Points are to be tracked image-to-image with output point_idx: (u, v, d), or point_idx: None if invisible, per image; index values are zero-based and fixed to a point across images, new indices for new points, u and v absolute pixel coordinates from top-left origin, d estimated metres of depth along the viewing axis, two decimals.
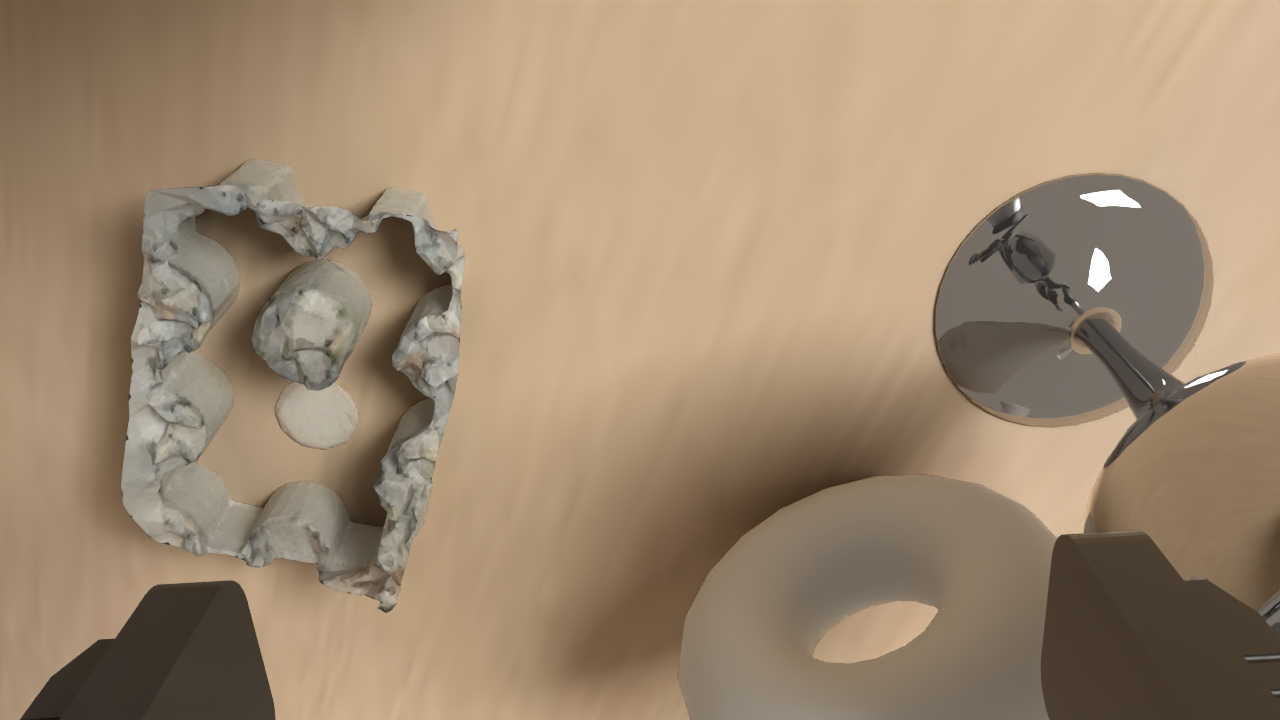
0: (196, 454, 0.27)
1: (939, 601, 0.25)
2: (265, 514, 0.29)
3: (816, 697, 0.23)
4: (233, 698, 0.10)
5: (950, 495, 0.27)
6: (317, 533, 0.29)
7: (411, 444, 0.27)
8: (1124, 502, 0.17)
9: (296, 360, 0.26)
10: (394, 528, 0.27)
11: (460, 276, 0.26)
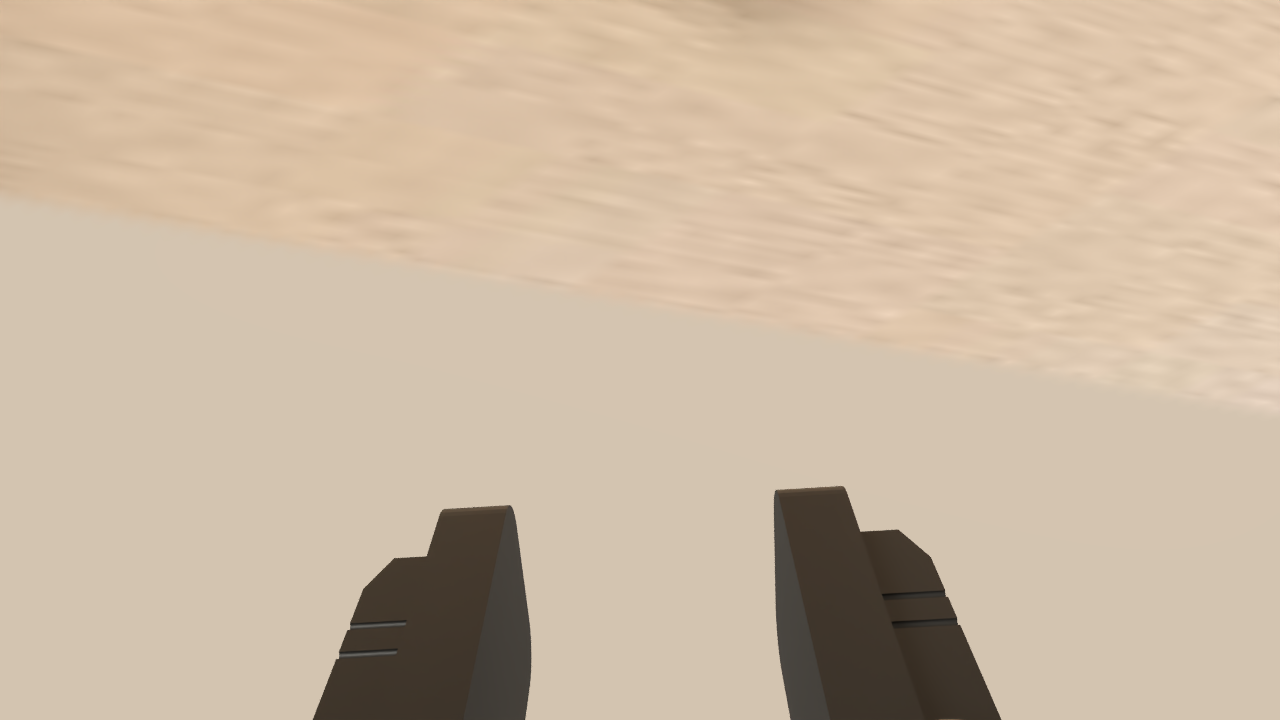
0: None
1: None
2: None
3: None
4: (515, 612, 0.11)
5: None
6: None
7: None
8: None
9: None
10: None
11: None
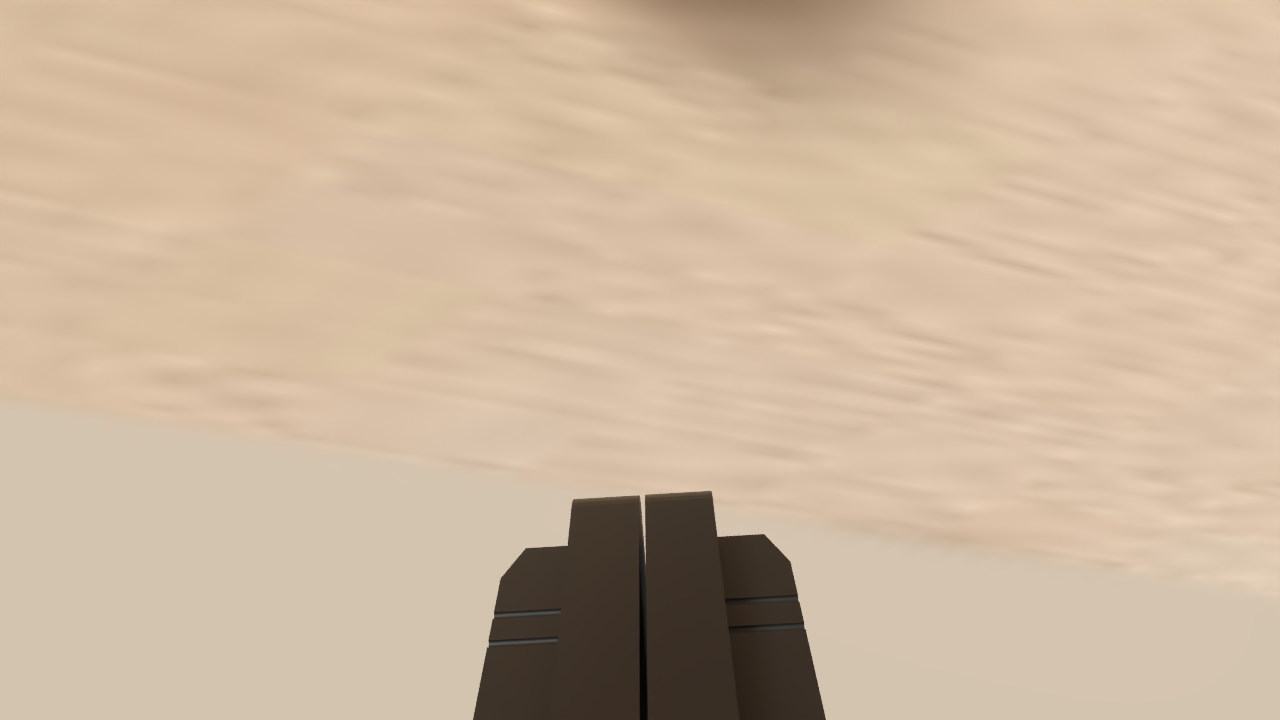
0: None
1: None
2: None
3: None
4: (644, 602, 0.11)
5: None
6: None
7: None
8: None
9: None
10: None
11: None
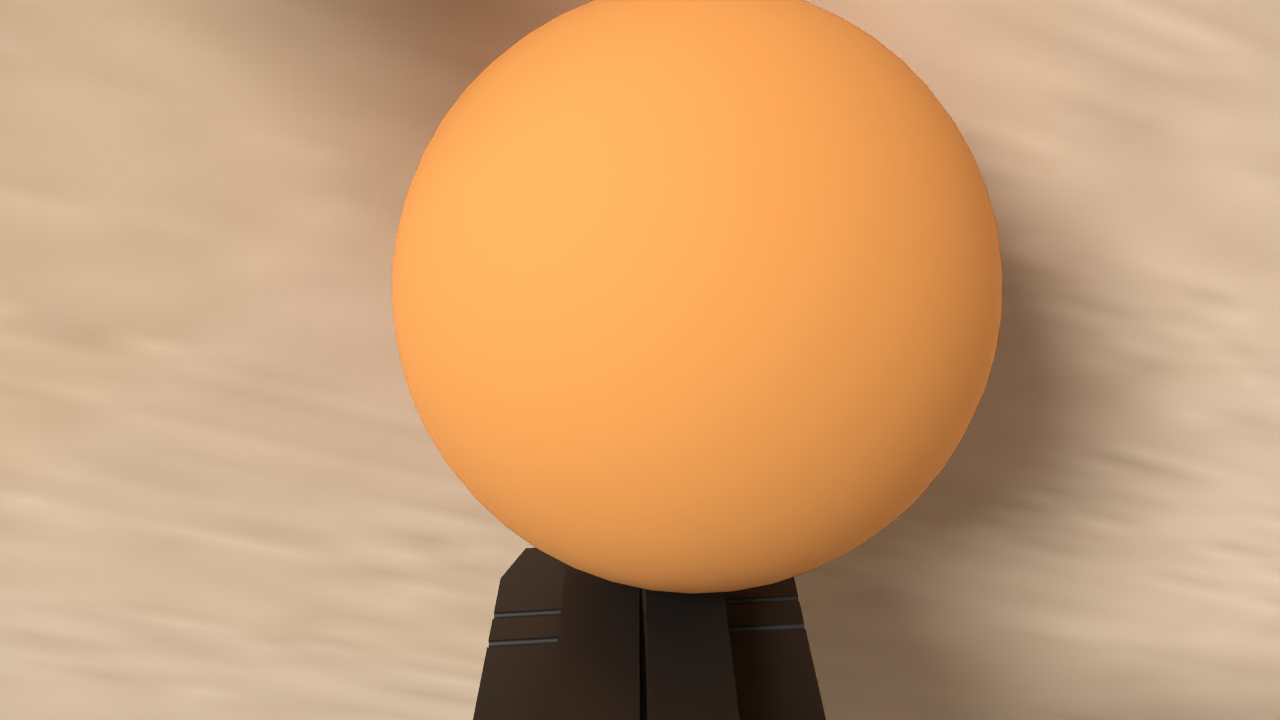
0: None
1: None
2: None
3: None
4: (645, 602, 0.11)
5: None
6: None
7: None
8: None
9: None
10: None
11: None
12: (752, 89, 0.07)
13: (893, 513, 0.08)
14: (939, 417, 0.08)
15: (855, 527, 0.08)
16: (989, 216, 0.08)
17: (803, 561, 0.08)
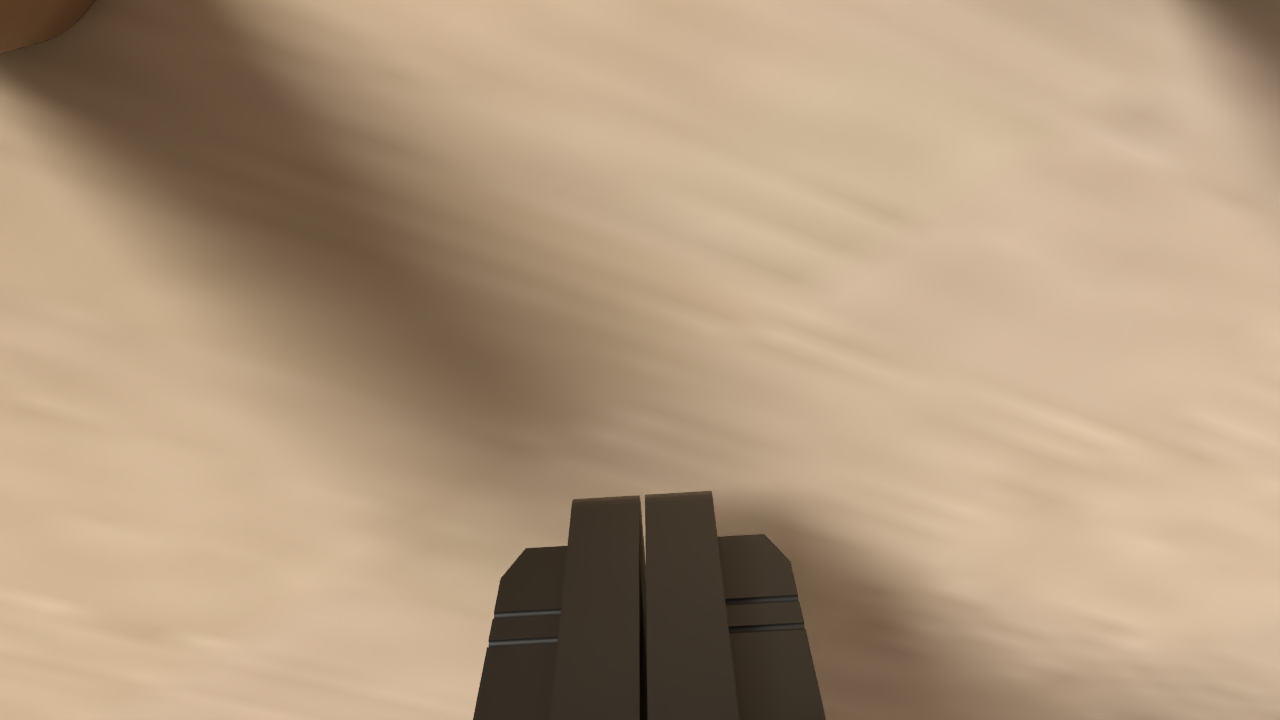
0: None
1: None
2: None
3: None
4: (645, 602, 0.11)
5: None
6: None
7: None
8: None
9: None
10: None
11: None
12: None
13: None
14: None
15: None
16: None
17: None
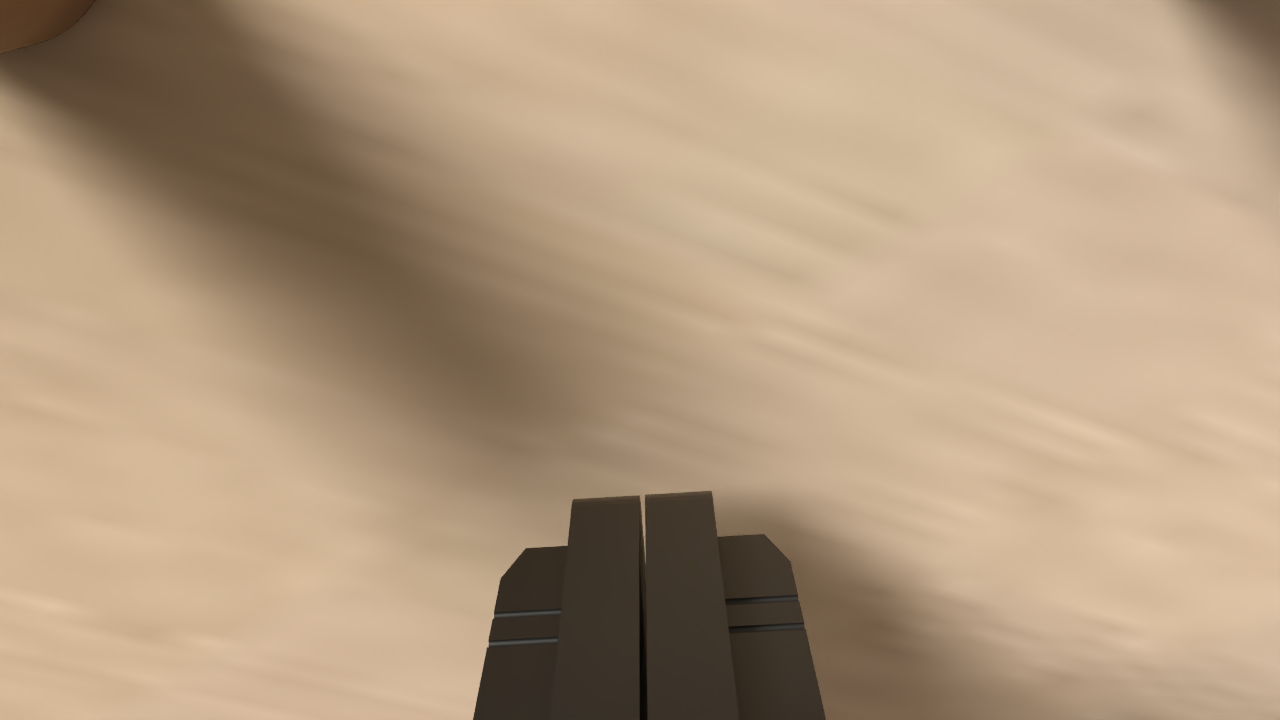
0: None
1: None
2: None
3: None
4: (645, 602, 0.11)
5: None
6: None
7: None
8: None
9: None
10: None
11: None
12: None
13: None
14: None
15: None
16: None
17: None
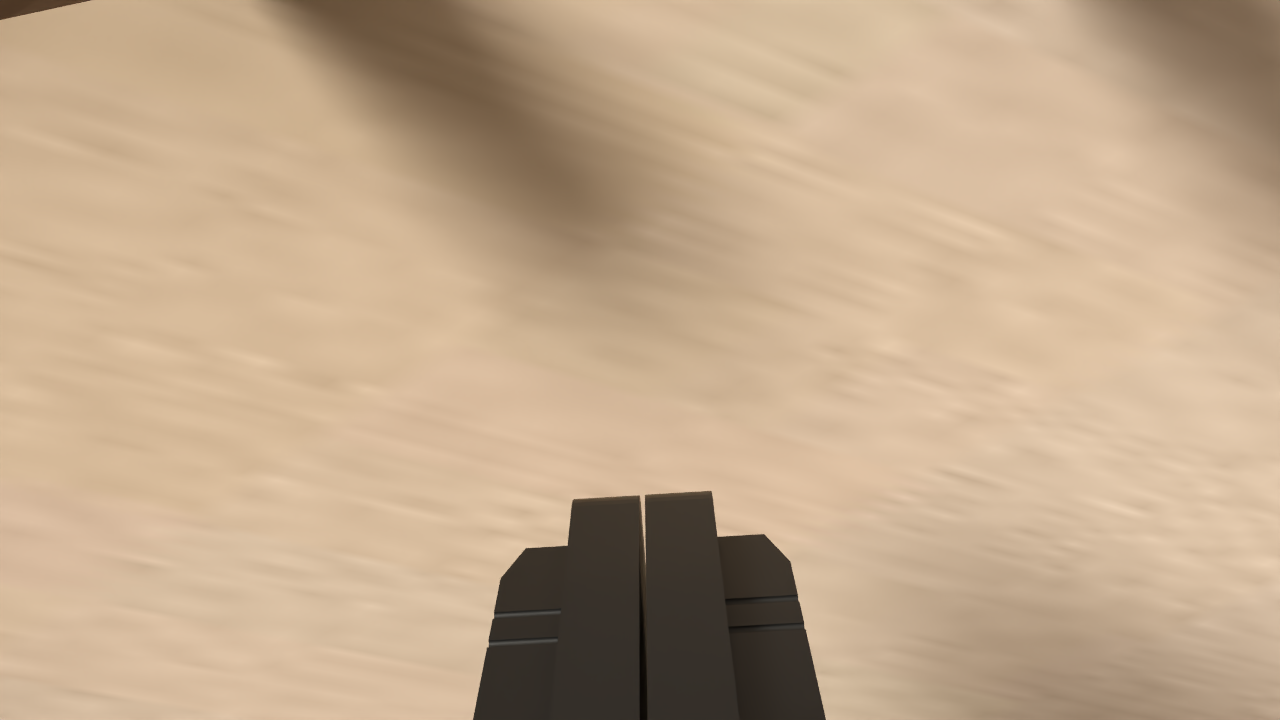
0: None
1: None
2: None
3: None
4: (645, 602, 0.11)
5: None
6: None
7: None
8: None
9: None
10: None
11: None
12: None
13: None
14: None
15: None
16: None
17: None
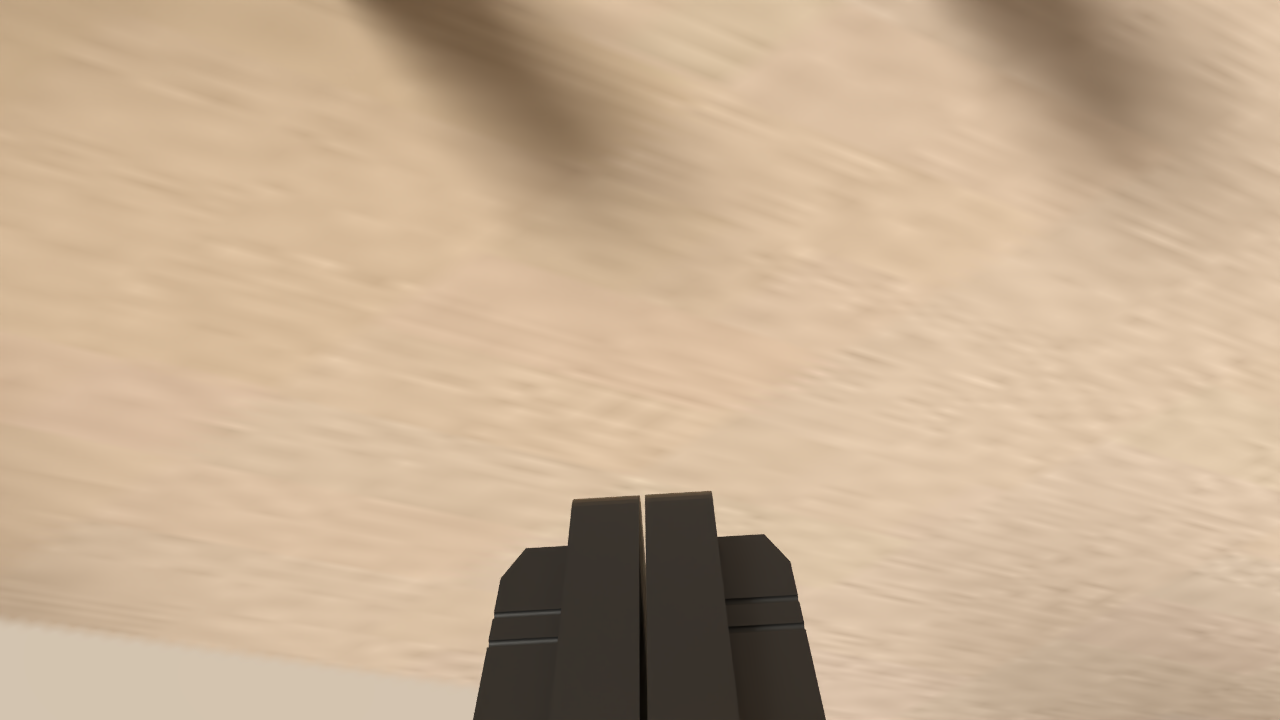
0: None
1: None
2: None
3: None
4: (645, 601, 0.11)
5: None
6: None
7: None
8: None
9: None
10: None
11: None
12: None
13: None
14: None
15: None
16: None
17: None
